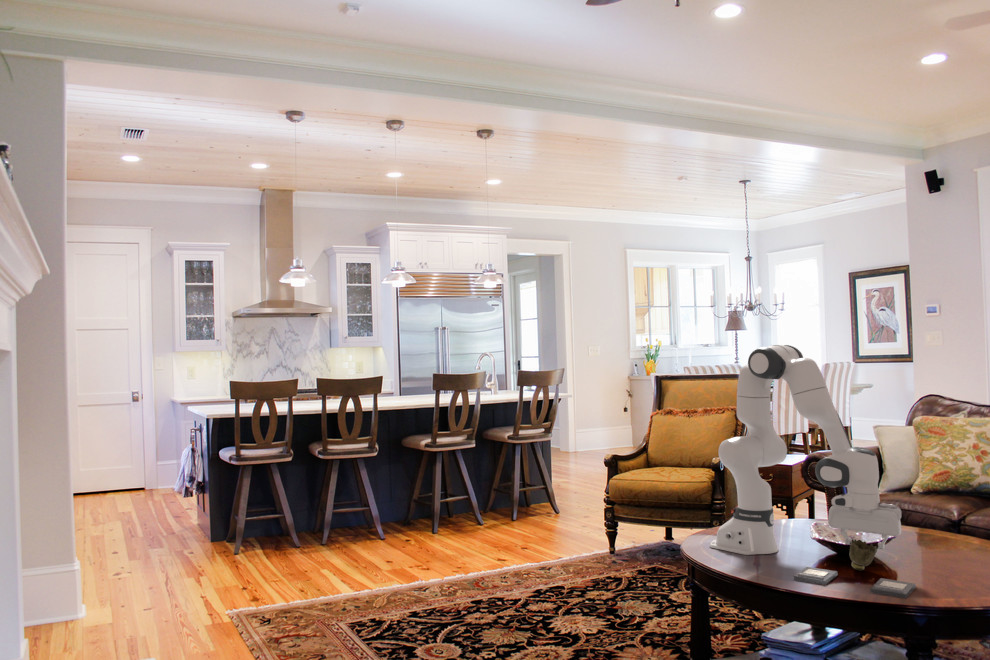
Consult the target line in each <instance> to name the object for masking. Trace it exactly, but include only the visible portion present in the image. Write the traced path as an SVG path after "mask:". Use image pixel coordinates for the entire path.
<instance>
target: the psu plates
mask: <svg viewBox="0 0 990 660" xmlns="http://www.w3.org/2000/svg"><path fill="white" fill-rule="evenodd" d="M837 576H838V571H837V570H830V569H825V568H824V569H823V568H817V567H811V566H805V567H804V568H802V569H801V570H800V571H799V572H797V573H795V574H794V575H793V581H798V582H805V583H810V584H816V585H822V586H827V584H829V583H830V582H832V580H834V579H835V578H837ZM916 585H917V583H915V582H914V583H913V582H909V581H902V580H895V579H889V578H882V577H881V578H879V579H878V580H877V581H876V583H874V584H873V585H872V586H871V587H870V588H869V590H870V591H869V593H870V594H876V595H881V596H882V595H883V596H888V597H893V598H900V599H905V600H906V599H907V598H909V596H910V595H911V594H912V593H913V592H914V591H915V589H916V587H917V586H916Z"/></svg>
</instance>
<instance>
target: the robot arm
mask: <svg viewBox="0 0 990 660" xmlns="http://www.w3.org/2000/svg"><path fill="white" fill-rule="evenodd" d="M803 355H804V354H803V353H802V352H801V351H800V350H799V349H798V348H797V347H795V346H792V345H789V344H786V345H785V344H784V345H783V344H781V345H780V344H773V345H772V344H771V345H769V346H761V347H758V348H756V349H755V350H753V351H752V352H751V353H750V354H749V357H748V359H747V360H748V361H747V364H745V365H744V366H742V367H741V369H740V370H739V374H738V380H737V387H736V418H737V419H738V420H739V422H741V423H742V424H744V425H745V427H746V428H747V432H748V435H745V436H744V435H743V436H733V437H731V438H727V439H725V440H722V441H721V443H720V444H719V446H718V453H717V454H718V458H719V461H720V462H721V464H722V465H723V466H724V467H725V468H727V469H728V470H729V472H730V473H731V475H732V477H733V479H734V481H735V486H736V492H737V494H736V495H737V496H736V497H737V505H736V506H735V507H733V509H731V513H730V514H733V515H732V518H730V519H729V520H727V521H726V522H725V523H724V524H722V525H721V526H720V527H718V529H717V532H716V539H713V540H712V541H710V543H709V547H710V548H711V549H717V550H722V551H726V552H731V553H736V554H740V555H745V556H751V555H769V554H774V553H777V552H779V548H778V545H777V541H776V537H775V531H774V523H775V516H774V508H773V506H772V505H773V504H772V488H771V487H772V486H771V484H769V483H768V482H767V481H766V480H764V479H763V478H762V476H761V475H760V472H759V468H763V467H764V468H765V467H772V466H775V465H778V464H781V463H782V462H784V461H785V460H786V458H787V454H788V447H787V444H786V442H785V440H784V439H783V438H782V437H781V436H780V435H778V434H777V432H776V430H775V428H774V426H773V421H772V414H771V411H772V409H771V393H772V392H771V388H772V383H773V381H774V380H779V379H781V380H784V381H785V382H786V383H787V385H788V388H789V390H790V395H791V397H792V401H793V403H794V406H795V408H796V410H797V412H798V414H799V415H800V416H802V417H803V418H804V419H807V420H809V421H811V422H813V423H814V424H817V425H818V427H820V428H821V430H822V432H823V433H824V435H825V438H826V441H827V443H828V445H829V448H830V450H831V454H832V455H829V456H826V457H823V458H822V459H820V460H819V461H817V463H816V465H815V468H814V469H815V470H814V471H815V477H816V479H817V480H818V481H819V483H820V484H822V486H824V487H828V488H837V487H838V488H839V487H845V488H846V489H847V493H845V494H839V495H838V494H837V495H835V496H834V497H832V499H831V505H832V506H831V507H830V508H829V510H828V517H827V520H828V522H827V524H828V525H829V527H830V528H831V529H832V528H833V529H839V530H840V534H841V535H842V536H843V539H844V544H845V545H851V540H852V537H849V536H848V534H847V532H848V531H854V532H860V533H869V534H877V535H881V538H882V541H879V542H878V543H877V545H878V546H877V549H879V550H885V549H886V548H885V547H886V545H885V544H886V542H887V540H888V539H889V537H898V536H900V535H901V534H902V522H901V519H902V510H901V508H900V507H899V506H897V505H896V504H894V503H893V504H892V503H891V504H889V503H886V502H885V503H884V502H880V501H881V498H880V489H879V480H880V471H879V469H880V468H879V461H878V457H877V455H876V453H875V452H874V451H872V450H871V449H868V448H866V447H860V446H852V444H851V441H850V439H849V437H848V433H847V432H846V429H845V427H844V424H843V422H842V420H841V417H840V415H839V414H838V412H837V410H836V409H837V408H836V407H835V405H834V403H833V401H832V398H831V395H830V392H829V389H828V386H827V383H826V380H825V378H824V375H823V374H822V371H821V370H820V367H819V366H818V364H817V362H816V361H815V360H813V358H812V359H811V358H808V357H804V356H803Z"/></svg>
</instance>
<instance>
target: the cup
mask: <svg viewBox="0 0 990 660" xmlns="http://www.w3.org/2000/svg"><path fill="white" fill-rule="evenodd" d="M877 552H878V548H877V546H874V545H873V543H870V544H869V545H868V544H867V541H863V540H861V539H856V538H855V539H852V538H851V544H850V545H849V558H850V559H849V560H851V561H850V562H851V567H852V568H853V569H855V570H858V571H863V570H865V567H867V566H869V565H871V564H872V562H873V560H874V559H875V557H876V553H877Z"/></svg>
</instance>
